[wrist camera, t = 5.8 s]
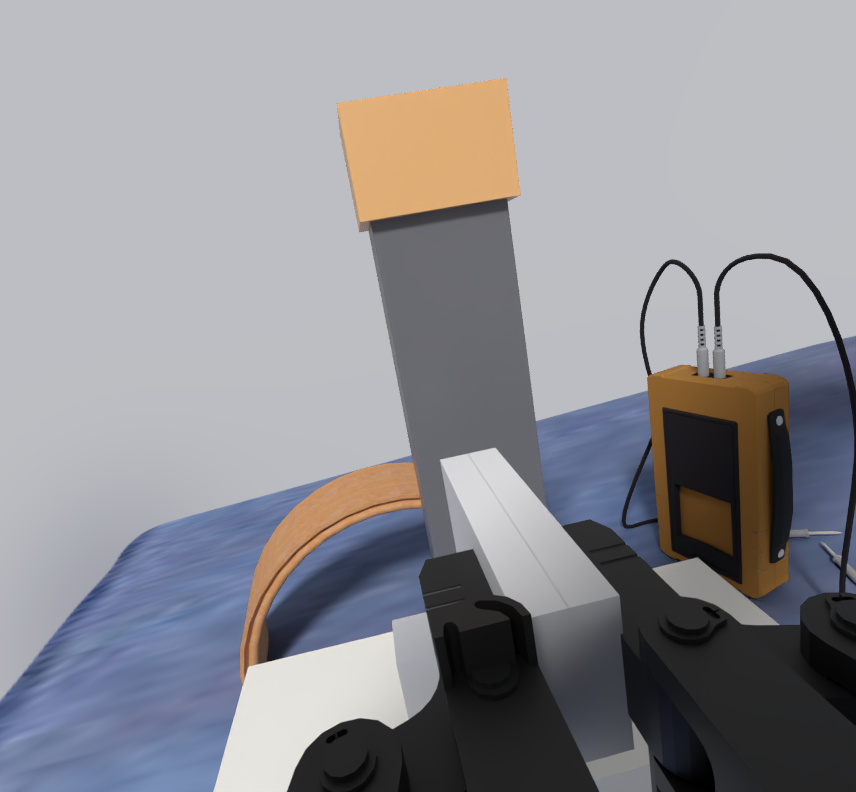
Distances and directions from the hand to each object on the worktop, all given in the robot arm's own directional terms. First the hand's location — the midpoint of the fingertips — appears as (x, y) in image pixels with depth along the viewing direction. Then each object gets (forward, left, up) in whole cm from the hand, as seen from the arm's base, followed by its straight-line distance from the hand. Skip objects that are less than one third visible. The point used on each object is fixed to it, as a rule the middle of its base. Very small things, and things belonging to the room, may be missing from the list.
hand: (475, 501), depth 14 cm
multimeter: (-21, -16, -16) cm, 31 cm away
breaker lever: (-1, -4, -8) cm, 9 cm away
